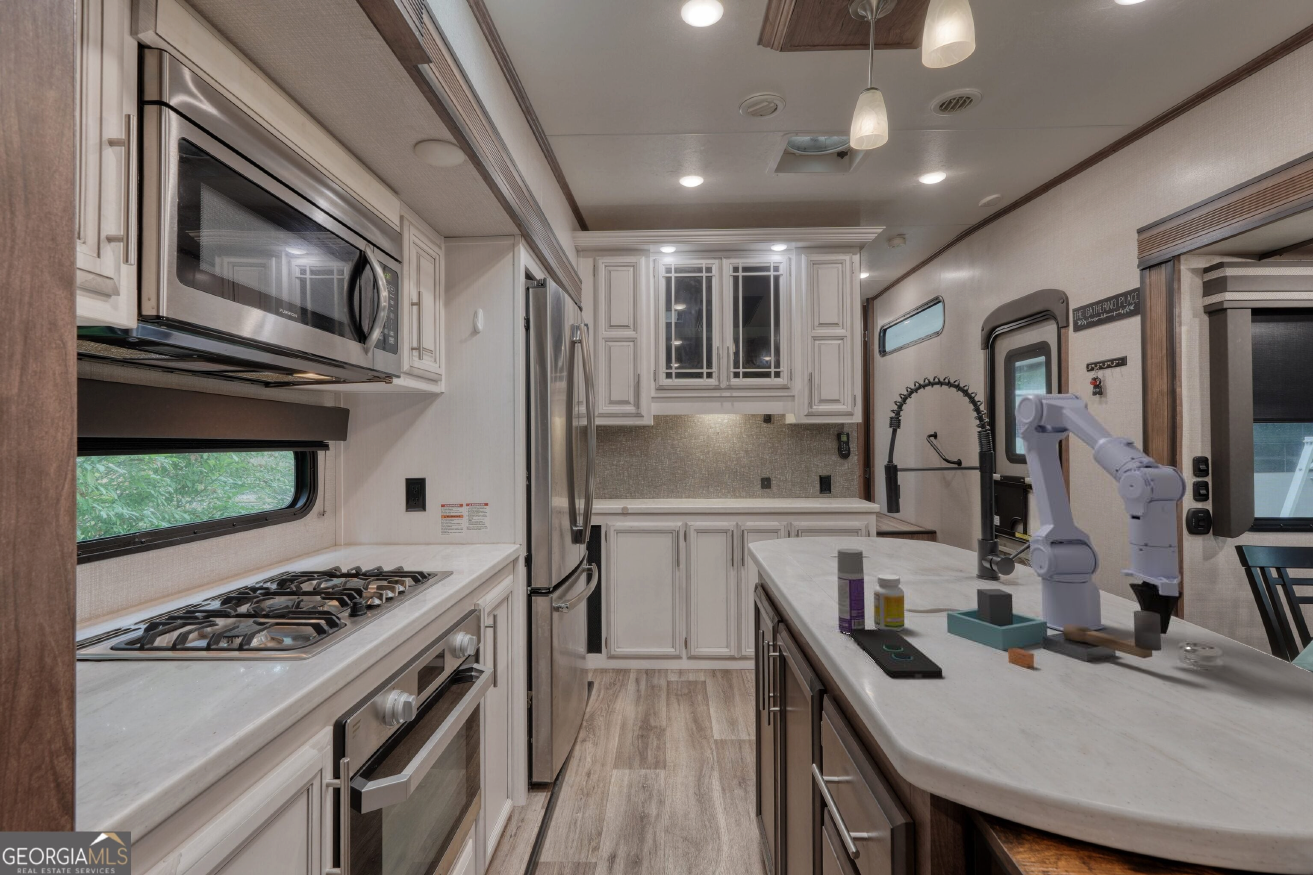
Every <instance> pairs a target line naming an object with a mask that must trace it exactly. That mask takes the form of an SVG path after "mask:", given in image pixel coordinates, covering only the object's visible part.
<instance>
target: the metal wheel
mask: <svg viewBox="0 0 1313 875" xmlns="http://www.w3.org/2000/svg"><path fill="white" fill-rule="evenodd" d="M1177 648H1178V651H1179V652H1181V653H1180V654H1178V662H1179V661H1180V662H1181V663H1183V664H1186V665H1188V666H1187V667H1189V666H1193V667H1196V668H1200V669H1199V670H1202V669H1208V670H1207V671H1209V670H1221V671H1223V670H1224V662H1223V661H1222V660H1220V659H1221V658H1223V657H1224V653H1223V651H1222V649H1221V648H1219V647H1218V646H1215V645H1212V644H1208V643H1203V642H1197V641H1183V642H1180V643H1179V644H1178V647H1177ZM1180 662H1179V663H1180ZM1181 663H1180V664H1181ZM1183 664H1182V665H1183ZM1186 665H1185V666H1186ZM1196 668H1195V669H1196ZM1222 669H1223V670H1222Z"/></svg>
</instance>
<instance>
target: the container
mask: <svg viewBox="0 0 1313 875" xmlns="http://www.w3.org/2000/svg"><path fill="white" fill-rule="evenodd" d="M864 574H865V573H864V555H863V550H862V549H858V548H839V549H837V606H838V610H837V611H838V612H837V613H838V631H839V630H840V631H842V632H845V633H850V634H851V630H853V629H866V618H865V617H866V614H865V613H866V612H865V610H866V608H865V607H866V606H865V575H864ZM840 631H839V632H840Z"/></svg>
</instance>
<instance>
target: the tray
mask: <svg viewBox="0 0 1313 875" xmlns="http://www.w3.org/2000/svg"><path fill="white" fill-rule="evenodd" d="M946 620H947V621H946V622H947V623H946V624H947V625H946V627H947V628H946V629H947V631H946V632H947V633H949V634H953V635H955V636H958V637H961V638H965V639H967V640H971V641H973V642H976V643H979V644H982V645H984V646H988V647H991V648H993V649H997V650H1000V651H1008V649H1011V648H1018V649H1019V648H1023V647H1027V646H1032V645H1037V644H1043V636H1047V635H1048V627H1047V621H1044V620H1040V618H1036V617H1032V616H1028V615H1025V614H1020V613H1017V612H1014V611H1013V625H1009V626H1003V627H999V626H996V625H992V624H989V623H986V622H982V621H979V620H978V607H976V608H969V609H963V610H955V611H950V612H949V611H948V612H946Z"/></svg>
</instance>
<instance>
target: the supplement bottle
mask: <svg viewBox="0 0 1313 875" xmlns="http://www.w3.org/2000/svg"><path fill="white" fill-rule="evenodd" d="M876 579H877V585H876V586H875V587H874V589H873V622H874V623H873V624H874V626H875V627H876V629H892V630H895V631H896V632H901V631H902V630H904V628H905V592H904V590H903V588H901V587H900V584H901V577H900V576H898V575H894V574H879V575H877V578H876Z"/></svg>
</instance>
